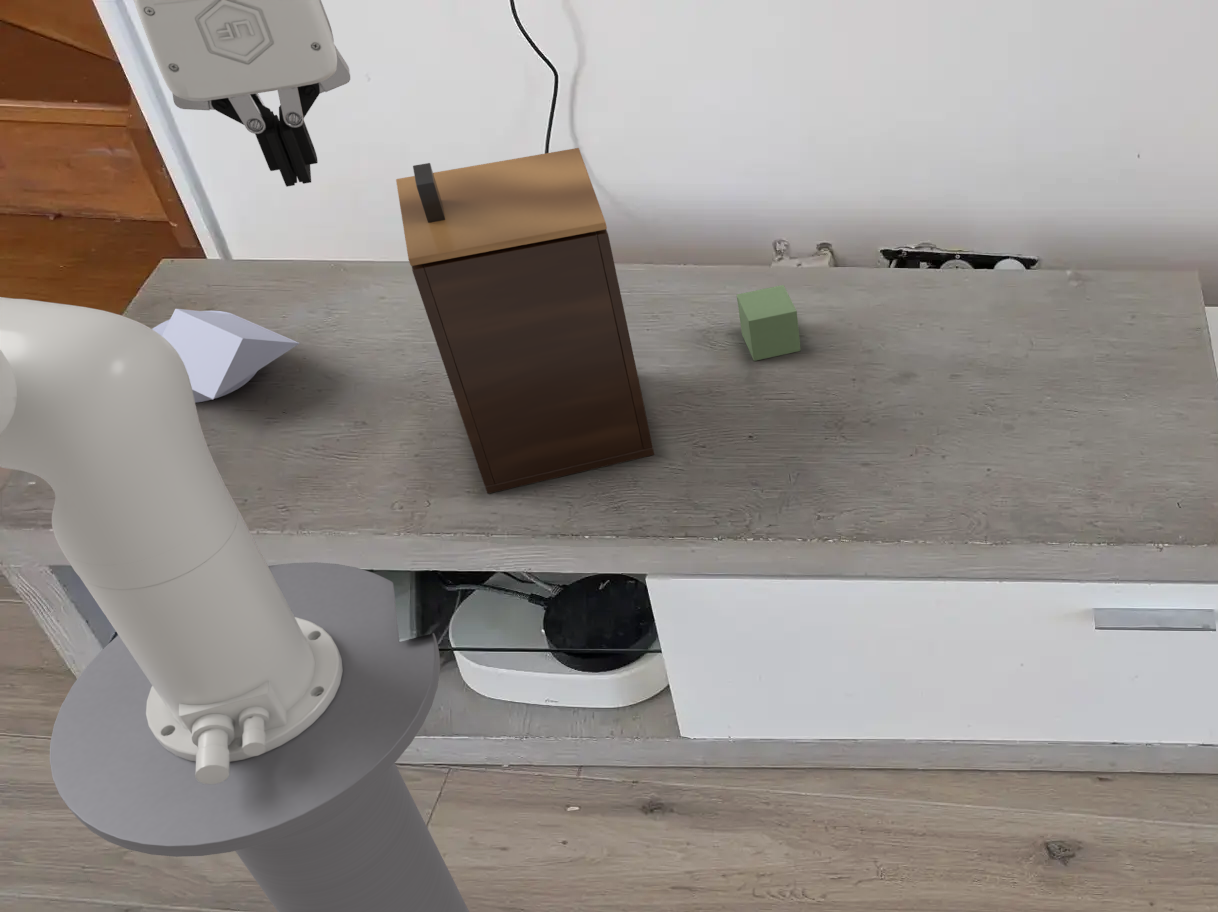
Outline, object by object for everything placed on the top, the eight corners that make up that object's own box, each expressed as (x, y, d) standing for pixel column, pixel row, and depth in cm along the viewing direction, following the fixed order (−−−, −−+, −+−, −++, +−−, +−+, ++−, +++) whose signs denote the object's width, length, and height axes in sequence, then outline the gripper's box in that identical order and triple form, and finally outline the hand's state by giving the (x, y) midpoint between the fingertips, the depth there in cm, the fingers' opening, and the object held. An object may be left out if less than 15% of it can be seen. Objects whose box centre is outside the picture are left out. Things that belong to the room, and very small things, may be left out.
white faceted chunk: (313, 373, 118) (215, 330, 123) (286, 311, 113) (185, 268, 118) (228, 430, 113) (129, 382, 117) (196, 366, 108) (94, 319, 112)
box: (654, 455, 111) (608, 233, 96) (487, 494, 107) (412, 270, 92) (628, 374, 118) (581, 157, 103) (471, 409, 115) (399, 189, 100)
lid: (607, 229, 95) (597, 184, 93) (410, 266, 92) (395, 220, 89) (580, 154, 103) (570, 111, 101) (398, 186, 100) (383, 141, 97)
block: (800, 351, 121) (796, 310, 118) (753, 361, 120) (748, 321, 117) (787, 324, 124) (783, 284, 121) (741, 334, 123) (736, 294, 120)
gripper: (41, -65, 74) (179, 223, 87) (325, -100, 77) (416, 182, 90) (54, -111, 79) (182, 168, 92) (320, -142, 82) (407, 131, 95)
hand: (298, 174), depth 91 cm, fingers closed
